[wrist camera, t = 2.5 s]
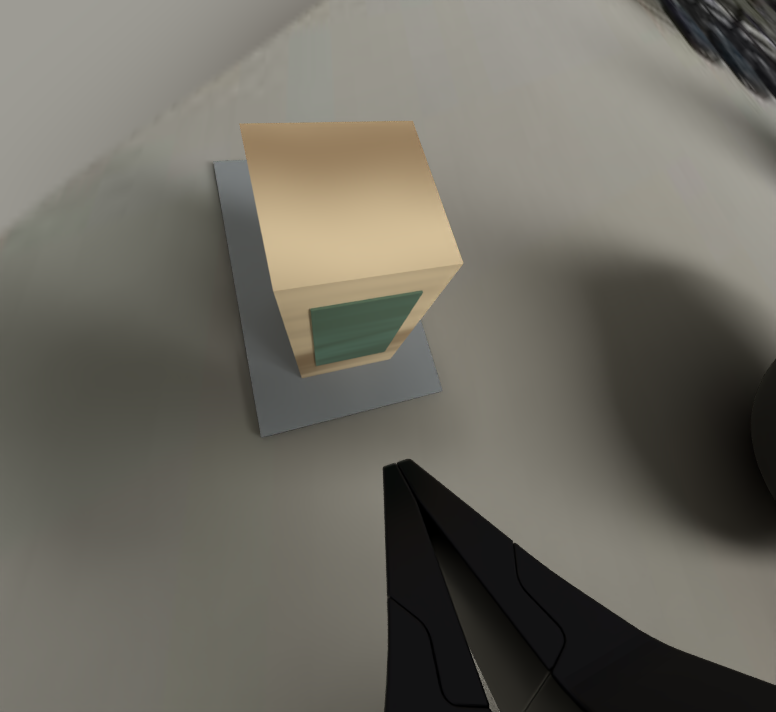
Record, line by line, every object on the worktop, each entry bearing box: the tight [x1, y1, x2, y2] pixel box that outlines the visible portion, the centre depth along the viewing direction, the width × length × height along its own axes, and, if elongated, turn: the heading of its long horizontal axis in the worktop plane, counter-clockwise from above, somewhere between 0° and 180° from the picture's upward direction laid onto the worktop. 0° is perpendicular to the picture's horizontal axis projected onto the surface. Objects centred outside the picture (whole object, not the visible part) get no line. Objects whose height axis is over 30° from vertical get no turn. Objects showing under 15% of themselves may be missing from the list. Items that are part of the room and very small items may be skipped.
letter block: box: [240, 121, 463, 378], centre depth 13 cm, size 5×5×10 cm
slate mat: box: [213, 160, 443, 437], centre depth 19 cm, size 17×10×1 cm, turn 15°
